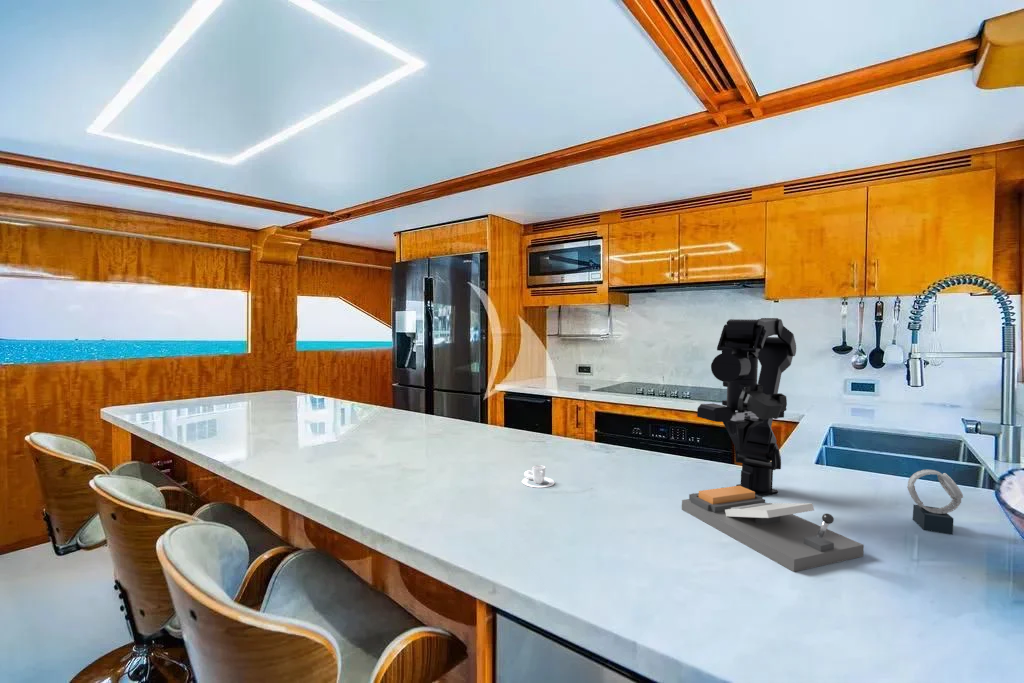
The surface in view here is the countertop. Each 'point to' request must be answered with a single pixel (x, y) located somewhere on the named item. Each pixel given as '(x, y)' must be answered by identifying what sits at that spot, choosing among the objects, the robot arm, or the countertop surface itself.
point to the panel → (776, 534)
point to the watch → (934, 516)
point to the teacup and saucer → (537, 476)
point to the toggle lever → (825, 524)
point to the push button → (726, 494)
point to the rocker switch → (769, 510)
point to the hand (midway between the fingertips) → (739, 450)
